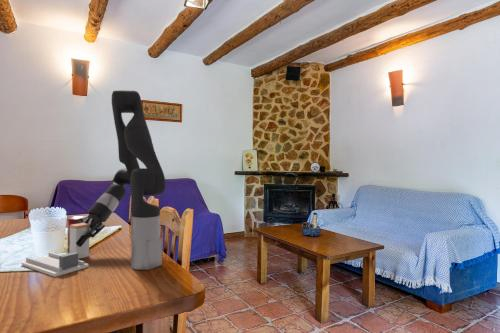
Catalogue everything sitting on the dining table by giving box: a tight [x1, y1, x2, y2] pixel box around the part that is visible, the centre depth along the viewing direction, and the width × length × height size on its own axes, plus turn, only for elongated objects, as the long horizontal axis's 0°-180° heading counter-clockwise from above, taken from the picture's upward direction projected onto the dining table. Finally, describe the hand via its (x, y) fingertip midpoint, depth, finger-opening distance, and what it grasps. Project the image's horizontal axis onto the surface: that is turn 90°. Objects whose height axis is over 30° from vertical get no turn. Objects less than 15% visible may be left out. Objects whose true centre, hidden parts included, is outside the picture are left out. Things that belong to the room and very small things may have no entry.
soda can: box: [67, 215, 87, 249], centre depth 133 cm, size 7×7×12 cm
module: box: [69, 223, 90, 260], centre depth 119 cm, size 4×5×12 cm
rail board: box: [20, 252, 89, 278], centre depth 109 cm, size 20×11×5 cm, turn 60°
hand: (74, 244), depth 117 cm, fingers closed on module, 4 cm apart
